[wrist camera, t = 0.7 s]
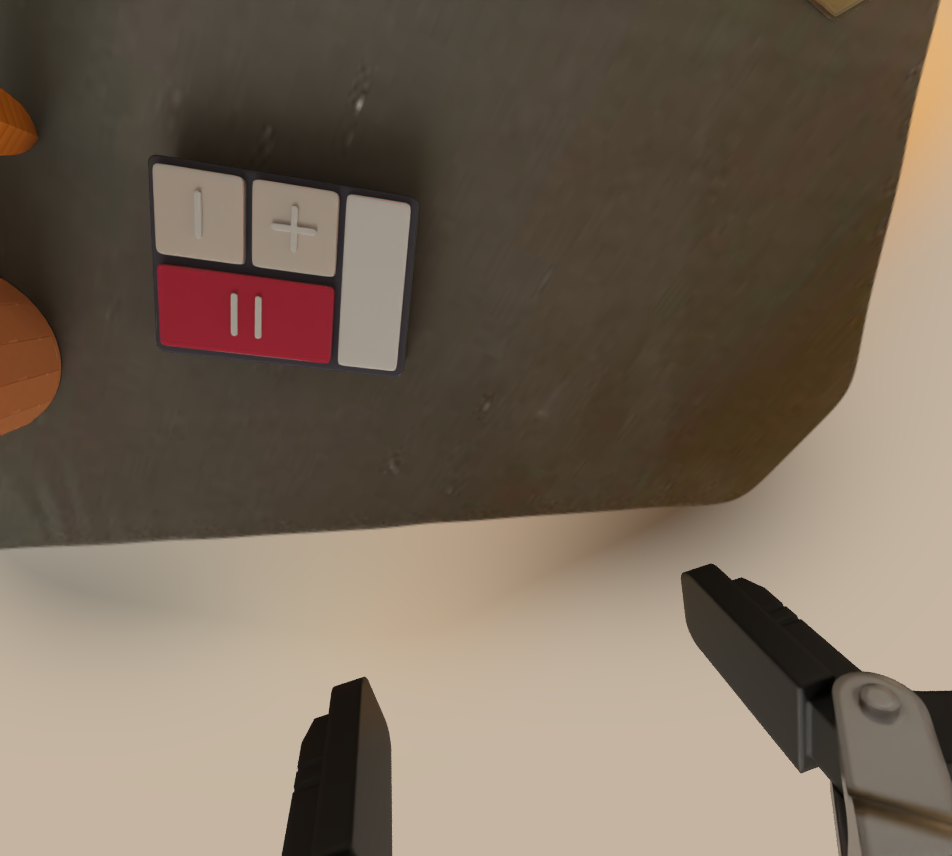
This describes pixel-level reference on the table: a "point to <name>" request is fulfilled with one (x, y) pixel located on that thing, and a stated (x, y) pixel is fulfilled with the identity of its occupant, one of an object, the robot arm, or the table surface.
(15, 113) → the carrot
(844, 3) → the food packaging
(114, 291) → the table surface
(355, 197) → the calculator
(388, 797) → the robot arm
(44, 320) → the pot
